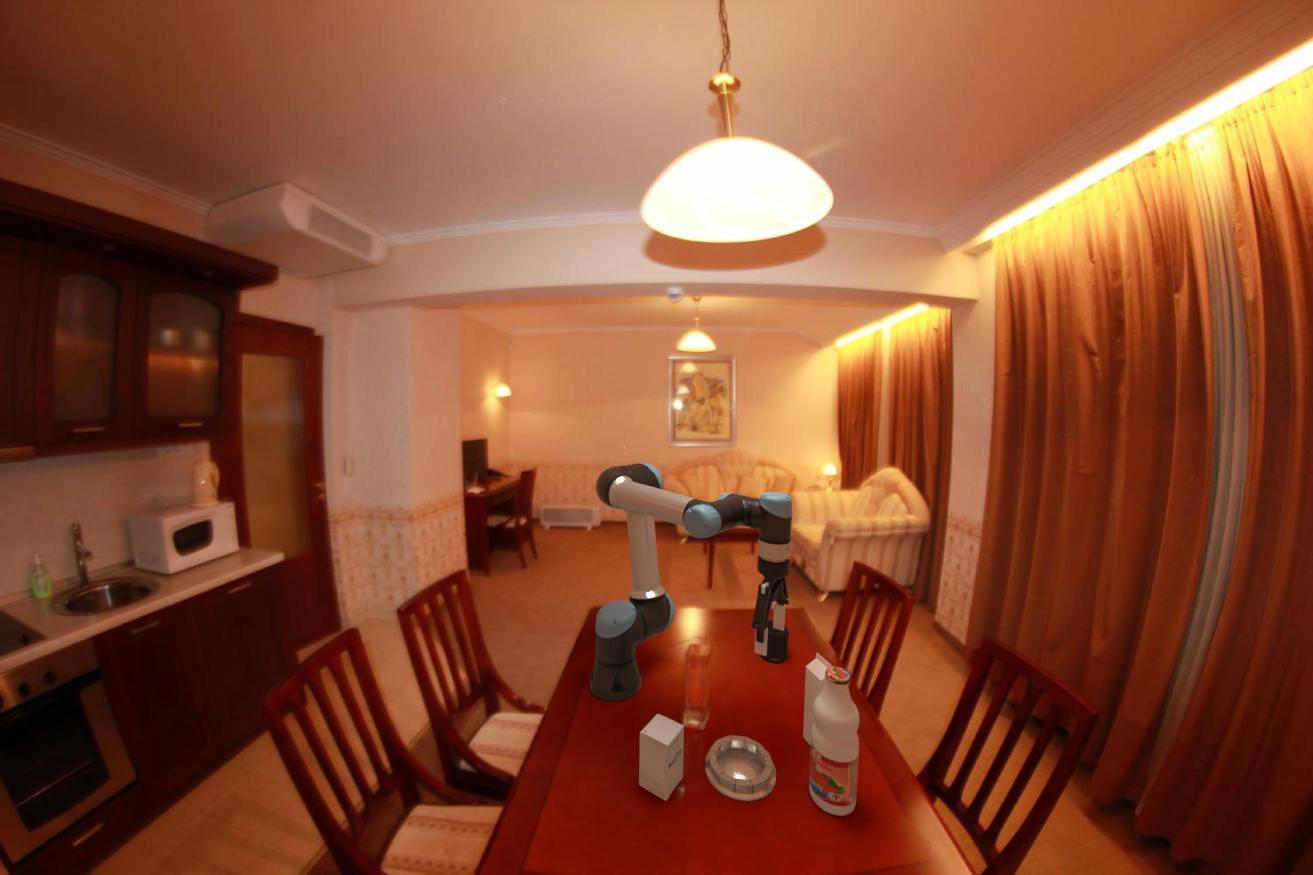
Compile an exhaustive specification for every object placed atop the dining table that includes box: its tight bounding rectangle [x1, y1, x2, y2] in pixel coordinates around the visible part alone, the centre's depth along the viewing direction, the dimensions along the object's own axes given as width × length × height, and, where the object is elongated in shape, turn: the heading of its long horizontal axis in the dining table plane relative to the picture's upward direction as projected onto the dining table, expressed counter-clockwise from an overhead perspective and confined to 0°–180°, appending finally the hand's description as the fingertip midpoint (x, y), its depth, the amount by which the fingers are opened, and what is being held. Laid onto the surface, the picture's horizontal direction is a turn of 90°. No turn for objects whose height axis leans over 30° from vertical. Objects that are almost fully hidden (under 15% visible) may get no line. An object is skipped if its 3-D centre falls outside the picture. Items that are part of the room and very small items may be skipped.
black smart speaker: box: [760, 619, 790, 664], centre depth 147 cm, size 9×9×10 cm
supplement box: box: [638, 713, 685, 802], centre depth 98 cm, size 7×7×13 cm
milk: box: [802, 652, 833, 747], centre depth 109 cm, size 6×6×22 cm
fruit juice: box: [808, 665, 860, 817], centre depth 94 cm, size 9×9×28 cm
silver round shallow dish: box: [704, 734, 777, 803], centre depth 101 cm, size 16×16×3 cm
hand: (770, 640), depth 109 cm, fingers open, 13 cm apart
